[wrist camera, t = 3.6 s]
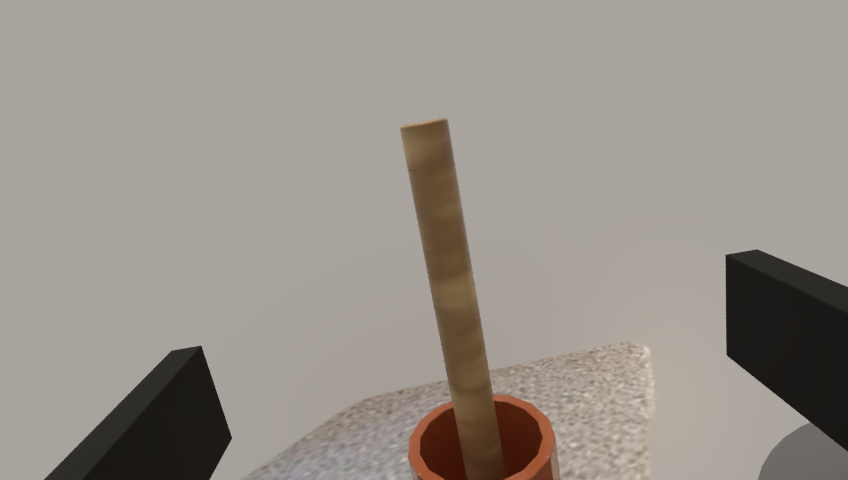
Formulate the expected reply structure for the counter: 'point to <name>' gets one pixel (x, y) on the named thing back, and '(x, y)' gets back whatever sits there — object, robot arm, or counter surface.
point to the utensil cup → (519, 434)
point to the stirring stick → (454, 294)
